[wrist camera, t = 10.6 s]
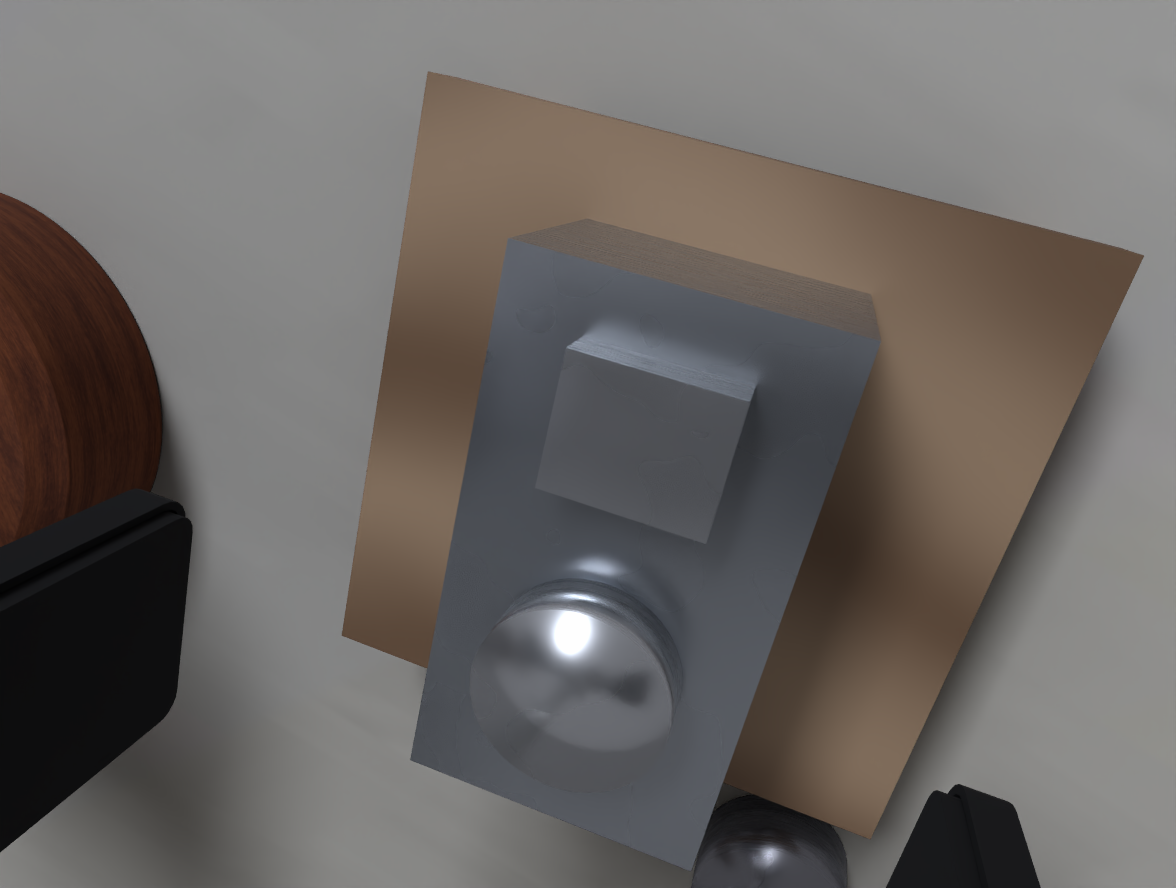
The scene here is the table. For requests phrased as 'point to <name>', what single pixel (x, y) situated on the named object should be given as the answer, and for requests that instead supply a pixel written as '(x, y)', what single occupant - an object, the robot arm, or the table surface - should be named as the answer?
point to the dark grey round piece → (768, 849)
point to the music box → (67, 380)
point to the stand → (873, 445)
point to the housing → (633, 523)
